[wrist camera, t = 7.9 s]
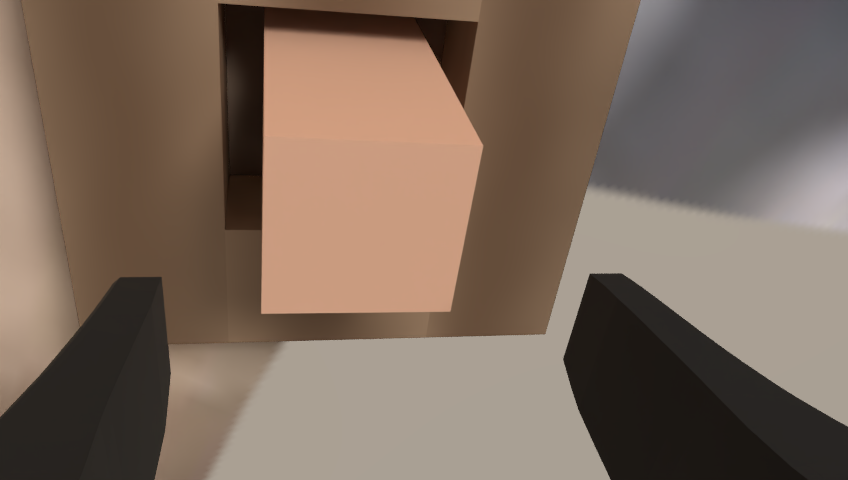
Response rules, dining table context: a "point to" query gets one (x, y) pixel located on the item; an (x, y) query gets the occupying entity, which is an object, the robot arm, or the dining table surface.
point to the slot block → (242, 195)
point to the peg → (360, 166)
